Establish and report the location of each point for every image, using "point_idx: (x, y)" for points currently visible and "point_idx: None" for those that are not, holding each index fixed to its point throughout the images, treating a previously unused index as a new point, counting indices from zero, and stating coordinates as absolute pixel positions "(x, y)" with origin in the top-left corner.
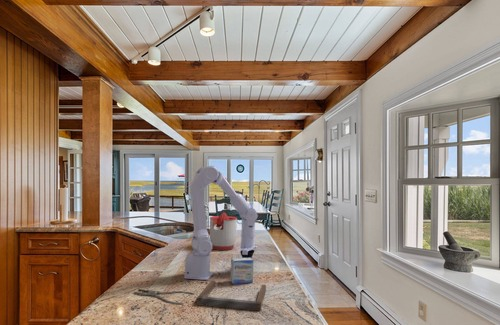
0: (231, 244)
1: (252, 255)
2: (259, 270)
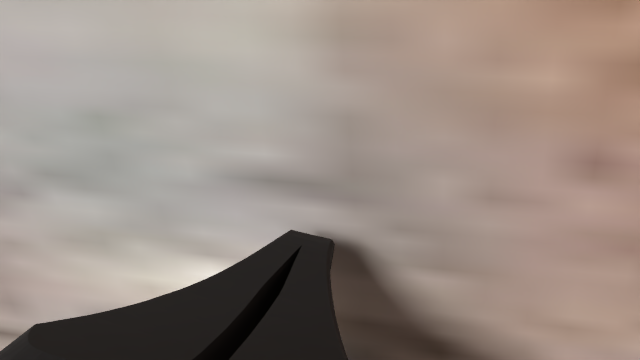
0: None
1: (194, 327)
2: (266, 67)
